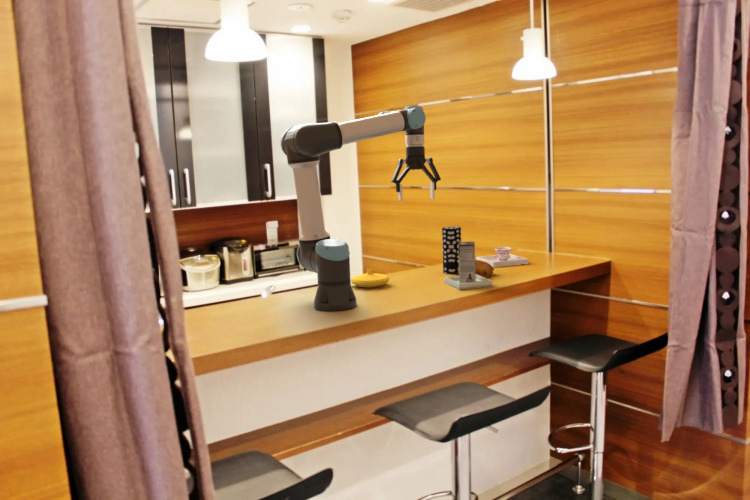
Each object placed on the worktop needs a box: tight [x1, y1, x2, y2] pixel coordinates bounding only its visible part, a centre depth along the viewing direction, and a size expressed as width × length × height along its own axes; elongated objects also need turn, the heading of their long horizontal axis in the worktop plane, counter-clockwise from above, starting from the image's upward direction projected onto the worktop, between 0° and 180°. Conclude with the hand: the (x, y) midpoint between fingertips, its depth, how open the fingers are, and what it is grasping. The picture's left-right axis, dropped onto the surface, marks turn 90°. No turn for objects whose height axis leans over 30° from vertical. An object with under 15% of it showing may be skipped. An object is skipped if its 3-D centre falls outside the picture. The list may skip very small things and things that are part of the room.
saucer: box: [475, 253, 530, 268], centre depth 294 cm, size 18×18×2 cm
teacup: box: [491, 246, 516, 262], centre depth 295 cm, size 12×12×6 cm
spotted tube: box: [441, 226, 462, 275], centre depth 274 cm, size 8×8×20 cm
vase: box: [350, 268, 390, 288], centre depth 254 cm, size 16×16×7 cm
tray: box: [444, 274, 493, 291], centre depth 248 cm, size 14×15×2 cm
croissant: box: [458, 259, 495, 278], centre depth 266 cm, size 14×16×8 cm
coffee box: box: [458, 241, 476, 283], centre depth 247 cm, size 9×6×16 cm
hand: (416, 199), depth 249 cm, fingers open, 13 cm apart
